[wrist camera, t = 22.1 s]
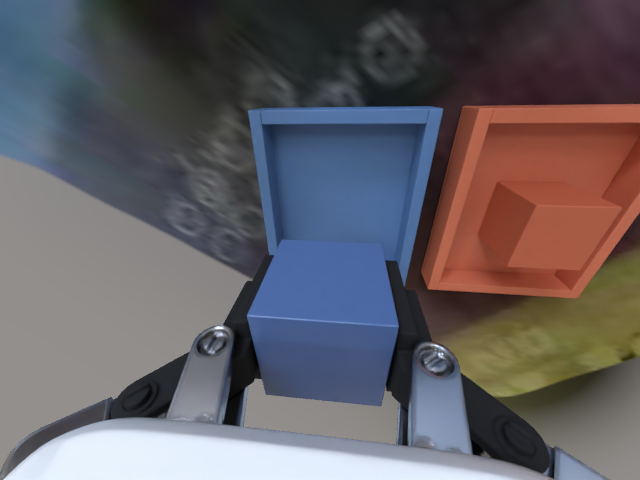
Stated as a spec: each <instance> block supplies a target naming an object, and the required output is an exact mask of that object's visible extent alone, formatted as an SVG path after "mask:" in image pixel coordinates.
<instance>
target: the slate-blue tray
mask: <svg viewBox="0 0 640 480" xmlns="http://www.w3.org/2000/svg"><path fill="white" fill-rule="evenodd" d="M248 114H249V121H250V127H251V134H252V141H253V148H254V154H255V161H256V168H257V175H258V181H259V188H260V195H261V202H262V208H263V215H264V222H265V229H266V235H267V242H268V249H269V255H275V253H276V251H277V249H278V246H279V244H280V242H281V240H305V241H330V242H354V243H379V244H382V249H383V253H384V258H385V260H392V261H397V263H398V266H399V270H400V274H401V277H402V281H403V284H404V287H405V283H406V278H407V274H408V269H409V265H410V260H411V256H412V251H413V246H414V242H415V237H416V233H417V228H418V224H419V219H420V214H421V210H422V205H423V201H424V196H425V191H426V187H427V182H428V178H429V173H430V169H431V164H432V159H433V155H434V150H435V146H436V141H437V136H438V132H439V127H440V123H441V118H442V114H443V109H442V108H437V107H432V106H408V107H315V108H259V109H254V110H249V111H248Z"/></svg>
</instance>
